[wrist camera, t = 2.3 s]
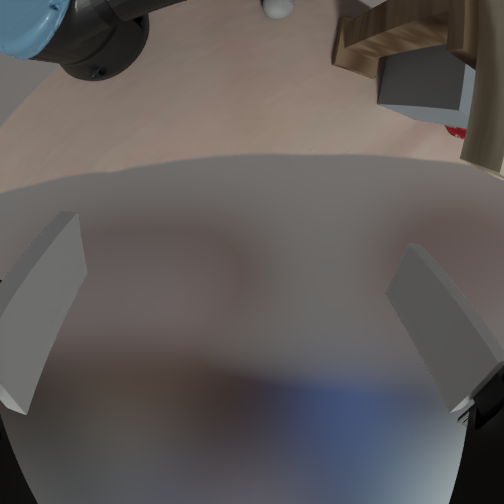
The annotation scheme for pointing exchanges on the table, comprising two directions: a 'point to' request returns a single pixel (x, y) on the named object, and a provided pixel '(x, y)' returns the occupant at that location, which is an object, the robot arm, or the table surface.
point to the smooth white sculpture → (278, 8)
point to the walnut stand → (407, 32)
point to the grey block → (428, 86)
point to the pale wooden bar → (488, 94)
